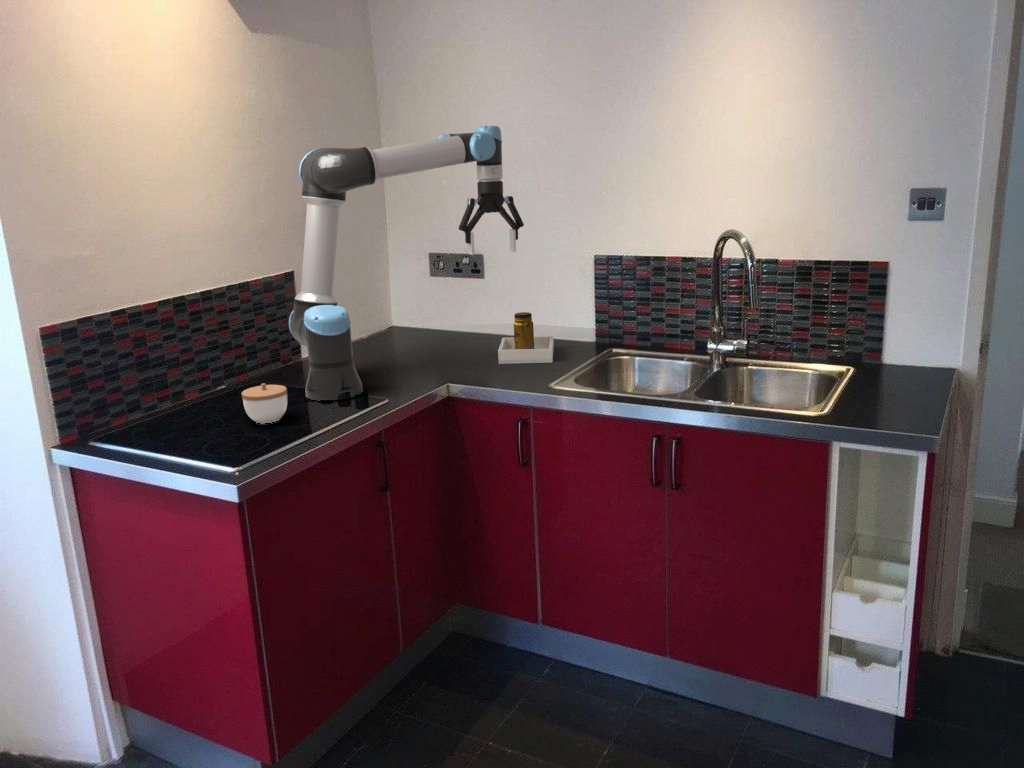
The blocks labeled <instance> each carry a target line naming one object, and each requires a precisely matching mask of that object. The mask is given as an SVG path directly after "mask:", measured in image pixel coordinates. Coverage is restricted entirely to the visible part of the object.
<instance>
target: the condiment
mask: <svg viewBox="0 0 1024 768" xmlns="http://www.w3.org/2000/svg"><path fill="white" fill-rule="evenodd" d="M513 317H514V321H513V336H514V342H515V343H514V345H515V349H537V348H535V347H534V337H535V335H534V334H535V333H534V332H535V331H534V321H533V315H532V313H531V312H528V311H527V312H523V311H522V312H516V313H514V315H513Z"/></svg>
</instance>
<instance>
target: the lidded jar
mask: <svg viewBox="0 0 1024 768" xmlns="http://www.w3.org/2000/svg"><path fill="white" fill-rule="evenodd" d="M241 398H242V403H243V408H244V410H245V413H246V414H247V416H248V417H249V418H250V419H251V420H252V421H254V422H256V423H255V424H257V423H260V424H259V425H266V424H265V423H271V424H273V423H272V422H275V423H277V422H276V421H278V422H279V420H280V419H281V418H283V416H284V415H285V414H286V411H287V407H288V388H287V386H285V385H280V384H266V382H265V383H261V384H260V385H256V386H252V387H249V388H247V389H244V390H243V391H242V392H241ZM280 421H281V420H280Z"/></svg>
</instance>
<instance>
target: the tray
mask: <svg viewBox="0 0 1024 768" xmlns="http://www.w3.org/2000/svg"><path fill="white" fill-rule="evenodd" d="M554 340H555V339H554V336H553V335H552V336H551V335H546V336H545V335H543V336H542V335H541V336H534V347H535V348H537V349H515V345H514V343H515V342H514V337H502V338H501V342H500V344H499V347H498V350H497V357H498V365H501V364H502V365H503V364H504V365H505V364H506V365H507V364H509V365H511V364H539V363H542V364H543V363H544V364H545V363H553V362H554V351H555V345H554V342H555V341H554Z"/></svg>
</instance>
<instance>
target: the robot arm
mask: <svg viewBox="0 0 1024 768" xmlns="http://www.w3.org/2000/svg"><path fill="white" fill-rule="evenodd" d="M501 131H502V130H501V128H500V127H499V126H497V125H478V126H476V127H475V129H474V132H465V133H464V132H463V133H462V132H461V133H445V134H440V135H439V136H438V137H437V138H435V139H427V140H422V141H416V142H411V143H406V144H405V143H404V144H400V145H393V146H388V147H381V148H376V149H375V148H374V149H371V148H369V147H368V146H363V147H357V148H356V147H353V148H344V147H343V148H342V147H318V148H314V149H313V150H311V151H309V152H308V153H306V155H305V156H304V157H302V160H301V161H300V163H299V170H298V171H299V177H300V180H301V182H302V188H301V189H302V190H301V198H302V199H303V200H304V202H305V203H306V214H305V215H306V216H305V229H304V230H305V231H304V244H303V245H304V246H303V257H302V270H301V271H302V272H301V283H300V284H301V285H300V292H299V293H298V294H297V295H296V296H295V297H294V304H293V310H292V311H291V313H290V315H289V317H288V328H289V331H290V333H291V335H292V337H293V338H294V340H296V341H297V343H299V345H302V346H303V347H306V348H307V349H306V350H307V357H308V364H309V365H308V366H309V371H308V375H307V379H306V385H305V391H304V392H305V398H306V397H307V398H309V399H311V400H317V401H319V400H336V399H337V398H338V396H339V395H340V394H341V393H345V392H350V393H351V394H352V395H353V394H354V393H360V392H364V389H363V382H362V380H361V378H360V376H359V374H358V371H357V369H356V367H355V362H354V353H353V352H354V351H353V343H352V341H353V340H352V332H351V331H352V329H351V318H350V314H349V312H348V310H347V309H346V308H345V307H343V306H339V305H338V300H337V299H336V298H335V296H334V294H333V293H334V280H335V268H336V267H335V266H336V254H337V241H338V229H339V214H340V207H341V206H342V205H344V204H345V203H346V198H347V197H346V196H347V192H348V191H353V190H354V189H359V188H361V187H366V186H371V185H375V184H376V183H377V180H380V179H381V180H382V179H386V178H390V177H396V176H401V175H403V176H404V175H408V174H413V173H418V172H423V171H428V170H429V171H430V170H434V169H440V168H445V167H450V166H456V165H460V164H468V163H473V162H476V179H477V180H478V182H477V183H476V184H477V198H473V197H469V198H468V199H467V206H466V207H465V212H464V213H463V216H462V219H461V221H460V224H459V226H458V231H460V232H461V231H462V232H463V233H464V238H465V240H464V241H465V244H468V245H467V246H468V255H470V256H475V235H474V232H472V231H473V229H474V228H475V226H476V225H477V224H478V223H479V221H480V219H481V218H482V216H484V215H485V214H490V213H499V214H500V215H501V217H502V218H503V219H504V220H505V221H506V223H507V224H508V225H509V226H510V228H509V231H508V232H509V252H514V253H515V252H517V242H516V241H518V240H519V229H520V228H523V227H524V225H525V224H524V222H523V220H522V217H521V216H520V214H519V211H518V209H517V207H516V204H515V202H514V197H513V196H512V195H506V196H504V185H503V184H504V182H503V180H502V179H503V153H502V152H503V148H502V147H503V145H502V143H503V140H502V132H501ZM504 203H505V205H507V207H508V210H509V212H510V214H511V215H510V214H509V213H508V211H506V208H504V206H503V205H504ZM476 205H478V208H477V209H476V212H475V214H474V215H473V217H472V214H473V212H474V209H475V207H476ZM512 217H513V218H512ZM307 398H306V399H307ZM311 400H310V401H311ZM317 401H316V402H317Z"/></svg>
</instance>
